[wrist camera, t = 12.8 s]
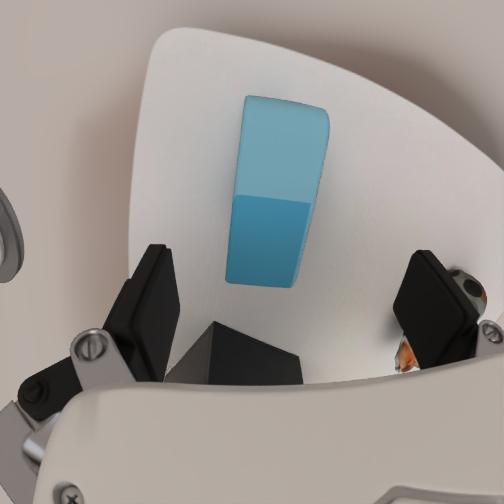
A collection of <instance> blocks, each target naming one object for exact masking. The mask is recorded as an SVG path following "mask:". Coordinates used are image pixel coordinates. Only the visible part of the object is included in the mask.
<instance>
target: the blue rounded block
mask: <svg viewBox="0 0 504 504" xmlns="http://www.w3.org/2000/svg"><path fill="white" fill-rule="evenodd" d="M329 129H330V124H329V117H328V114H327V112H326V111H325V110H324V109H322V108H318V107H314V106H310V105H306V104H302V103H298V102H293V101H287V100H280V99H274V98H266V97H259V96H250V95H248V96H246V97H245V103H244V111H243V119H242V127H241V135H240V143H239V151H238V160H237V169H236V178H235V187H234V196H233V205H232V215H231V224H230V234H229V245H228V255H227V266H226V277H225V280H226V282H227V283H233V284H245V285H256V286H268V287H281V288H290V287H292V286H293V285H294V283H295V281H296V278H297V274H298V270H299V266H300V262H301V258H302V255H303V251H304V247H305V243H306V239H307V235H308V230H309V226H310V222H311V218H312V214H313V209H314V205H315V201H316V196H317V192H318V187H319V183H320V178H321V173H322V169H323V164H324V159H325V154H326V149H327V144H328V139H329Z"/></svg>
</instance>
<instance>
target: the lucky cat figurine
mask: <svg viewBox="0 0 504 504" xmlns="http://www.w3.org/2000/svg"><path fill="white" fill-rule="evenodd" d="M449 274H450V275H451V276H452V277H453V279H454V280H455V281H456V282H457V284H458V285H459V286H460V288H461V289H462V290H463V292H464V293H465V294H466V296H467V297H468V298H469V300H470V301H471V303H472V304H473V305H474V307H475V308H476V310H477V311H478V312H479V314H480V317H479V319H480V318H481V316H482V315H483V313H484V311H485V308H486V305H487V296H486V293H485V290H484V288H483V286H482V285H481V283H480V282H479V281H478V280H477V279H475V278H474V277H472V276H471V275H469V274H467V273H465V272H463V271H462V270H460V269H459V270H456V271H454V272H453V273H449ZM479 319H478V320H479ZM478 320H477V321H478ZM476 323H477V322H476ZM414 366H415V367H417V368H420V367H419V365H418V363H417V360H416V358H415V356H414V353H413V351H412V349H411V347H410V345H409V343H408V340H407V338H406V336H405V334H404V332H403V330H402V338H401V342H400V346H399V349H398V351H397V353H396V356H395V370H397V371H398V372H400V371H401V372H406V371H409V370H410V369H411V368H412V367H414Z"/></svg>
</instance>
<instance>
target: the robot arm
mask: <svg viewBox="0 0 504 504" xmlns="http://www.w3.org/2000/svg"><path fill="white" fill-rule="evenodd" d="M4 255H5V250H4V243H3V238H2V235H1V231H0V266H1V265H2V263H3V261H4ZM393 311H394V314H395V316H396V318H397V320H398V322H399V324H400V326H401V328H402V330H403V332H404V334H405V336H406V338H407V340H408V343H409V345H410V347H411V349H412V351H413V353H414V356H415V358H416V360H417V363H418V365H419V367H420V369H421V370H418V371H413V372H407V373H401V374H395V375H389V376H383V377H376V378H368V379H361V380H352V381H342V382H332V383H319V384H303V385H280V386H228V385H198V384H182V383H163V381H164V377H165V372H166V368H167V363H168V359H169V355H170V350H171V346H172V342H173V338H174V334H175V330H176V326H177V322H178V318H179V314H180V302H179V296H178V291H177V284H176V278H175V272H174V265H173V259H172V252H171V249H170V248H166V245H165V244H150V245H149V246H148V248H147V250H146V252H145V253H144V255H143V257H142V259H141V261H140V263H139V265H138V266H137V268H136V270H135V272H134V274H133V276H132V278H131V279H127V281H126V282H125V283H124V285H123V287H122V289H121V291H120V293H119V295H118V297H117V299H116V301H115V303H114V305H113V307H112V309H111V311H110V313H109V315H108V317H107V319H106V321H105V324H104V326H103V328H102V329H98V328H94V329H88V330H86V331H83V332H82V333H80V334H79V335H77V336H76V337H75V338H74V340H73V342H72V343H71V347H70V355H71V356H69V357H67V358H65V359H63V360H61V361H59V362H57V363H56V364H54V365H52V366H50V367H48V368H46V369H44V370H42V371H40V372H38V373H36V374H34V375H32V376H31V377H29V378H27V379H26V380H25V381H24V382H23V383H22V384H21V386H20V388H19V390H18V396H17V397H18V400H17V401H16V402H15V403H14V402H13V401H11V402H10V403H9V404H8V405H7V406H5V407H4V408H3V409H2V411H0V485H1V486H2V487H3V489H4V491H5V492H6V493H7V495H8V496H9V498H10V499H11V501H12V502H13V503H14V504H504V331H503V330H502V328H501V327H500V326H499V325H497V324H496V323H495V322H493V321H490V320H483V321H481V322H480V323H479V325H478V324H477V323H476V322H477V320H478V319H479V317H480V314H479V312H478V311H477V310H476V308H475V307H474V305H473V304H472V303H471V301H470V300H469V298H468V297H467V296H466V294H465V293H464V292H463V290H462V289H461V288H460V286H459V285H458V284H457V282H456V281H455V280H454V279H453V277H452V276H451V275H450V274H449V272H448V271H447V270H446V269H445V267H444V266H443V265H442V264H441V263H440V261H439V260H438V259H437V258H436V257H435V255H434V254H433V253H432V252H431V251H430V250H417V251H416V252H415V253H414V254H413V255H412V256H411V259H410V262H409V265H408V268H407V270H406V273H405V276H404V279H403V281H402V284H401V286H400V289H399V292H398V294H397V297H396V299H395V302H394V304H393Z"/></svg>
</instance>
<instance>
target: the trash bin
mask: <svg viewBox="0 0 504 504" xmlns="http://www.w3.org/2000/svg"><path fill="white" fill-rule="evenodd" d="M164 383H182V384H198V385H228V386H280V385H303V379H302V372H301V366H300V361H299V356H296V355H293V354H291V353H288V352H286V351H283V350H281V349H278V348H276V347H273V346H271V345H268V344H266V343H264V342H261V341H259V340H256V339H254V338H252V337H249V336H247V335H245V334H242V333H240V332H238V331H236V330H233V329H231V328H229V327H226V326H224V325H222V324H220V323H218V322H215V321H214V322H213V323H212V324H211V325H210V326H209V328H208V329H207V330H206V331H205V332H204V333H203V334H202V336H201V337H200V338H199V339H198V340H197V341H196V342H195V344H194V345H193V346H192V347H191V348H190V349H189V350H188V352H187V353H186V354H185V355H184V356H183V357H182V358H181V360H180V361H179V362H178V363H177V364H176V365H175V366H174V368H173V369H172V370H171V371H170V372H169V373H168V374H167V375H166V377H165V379H164Z"/></svg>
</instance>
